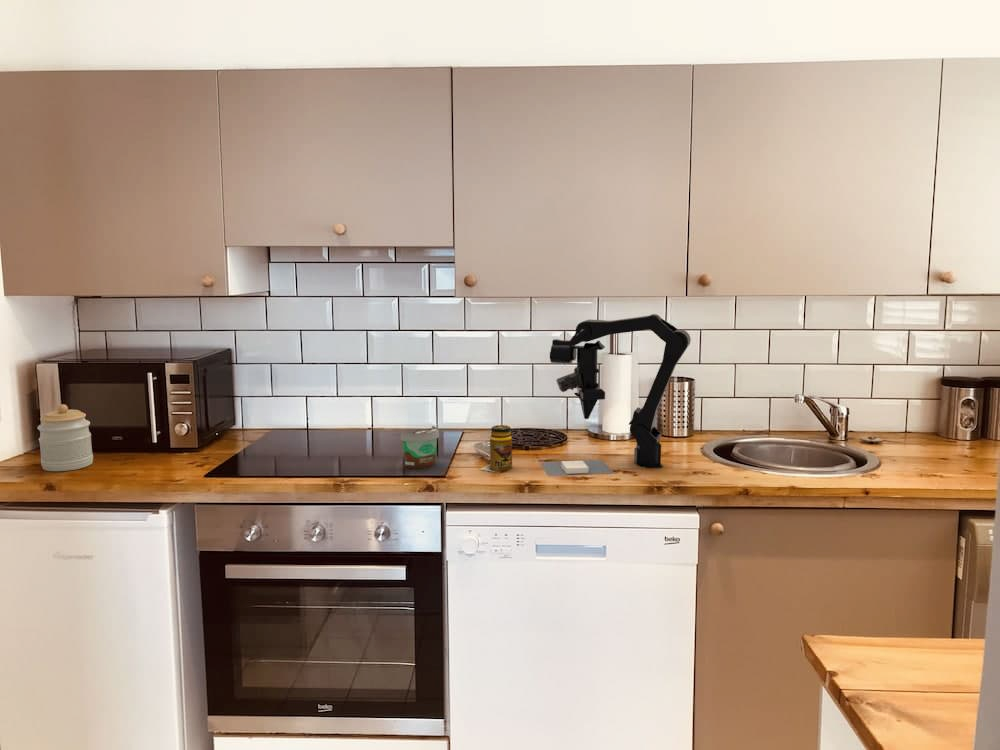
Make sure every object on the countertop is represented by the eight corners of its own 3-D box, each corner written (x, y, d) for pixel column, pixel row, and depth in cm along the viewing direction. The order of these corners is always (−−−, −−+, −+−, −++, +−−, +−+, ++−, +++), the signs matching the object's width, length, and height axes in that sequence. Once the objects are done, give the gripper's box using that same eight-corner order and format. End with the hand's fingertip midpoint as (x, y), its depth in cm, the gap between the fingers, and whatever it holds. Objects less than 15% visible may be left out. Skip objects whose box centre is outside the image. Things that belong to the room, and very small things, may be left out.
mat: (601, 461, 226) (601, 460, 226) (614, 475, 212) (614, 473, 212) (539, 464, 224) (539, 462, 223) (548, 477, 210) (548, 475, 210)
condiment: (505, 474, 214) (505, 430, 212) (478, 469, 218) (478, 427, 216) (518, 467, 220) (518, 425, 218) (492, 463, 224) (491, 422, 222)
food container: (416, 472, 216) (415, 436, 214) (401, 467, 220) (400, 432, 219) (448, 463, 225) (448, 428, 223) (434, 459, 229) (433, 425, 228)
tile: (582, 460, 219) (588, 467, 212) (582, 466, 219) (588, 473, 212) (561, 461, 218) (566, 468, 211) (561, 467, 218) (566, 474, 211)
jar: (104, 461, 228) (99, 401, 225) (68, 473, 215) (62, 410, 213) (67, 458, 231) (61, 398, 228) (30, 470, 219) (23, 407, 216)
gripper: (552, 360, 232) (552, 412, 234) (565, 370, 214) (565, 427, 216) (590, 359, 233) (589, 411, 236) (606, 369, 215) (605, 425, 217)
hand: (586, 418), depth 226 cm, fingers closed
